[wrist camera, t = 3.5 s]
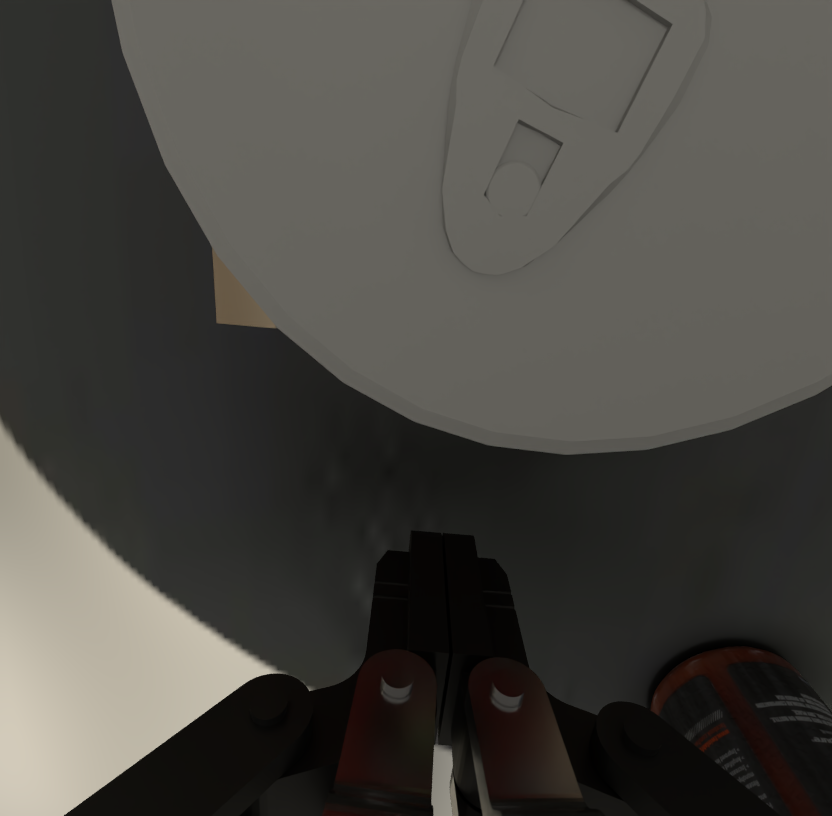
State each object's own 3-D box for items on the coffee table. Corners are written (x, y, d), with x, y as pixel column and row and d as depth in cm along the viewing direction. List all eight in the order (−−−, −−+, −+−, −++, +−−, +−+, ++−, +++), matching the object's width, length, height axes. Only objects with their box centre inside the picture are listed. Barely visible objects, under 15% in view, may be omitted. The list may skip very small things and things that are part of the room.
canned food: (329, 268, 15) (107, 399, 5) (361, -79, 12) (-48, -1811, 2) (586, 310, 15) (916, 524, 5) (678, -19, 12) (1982, -1219, 2)
